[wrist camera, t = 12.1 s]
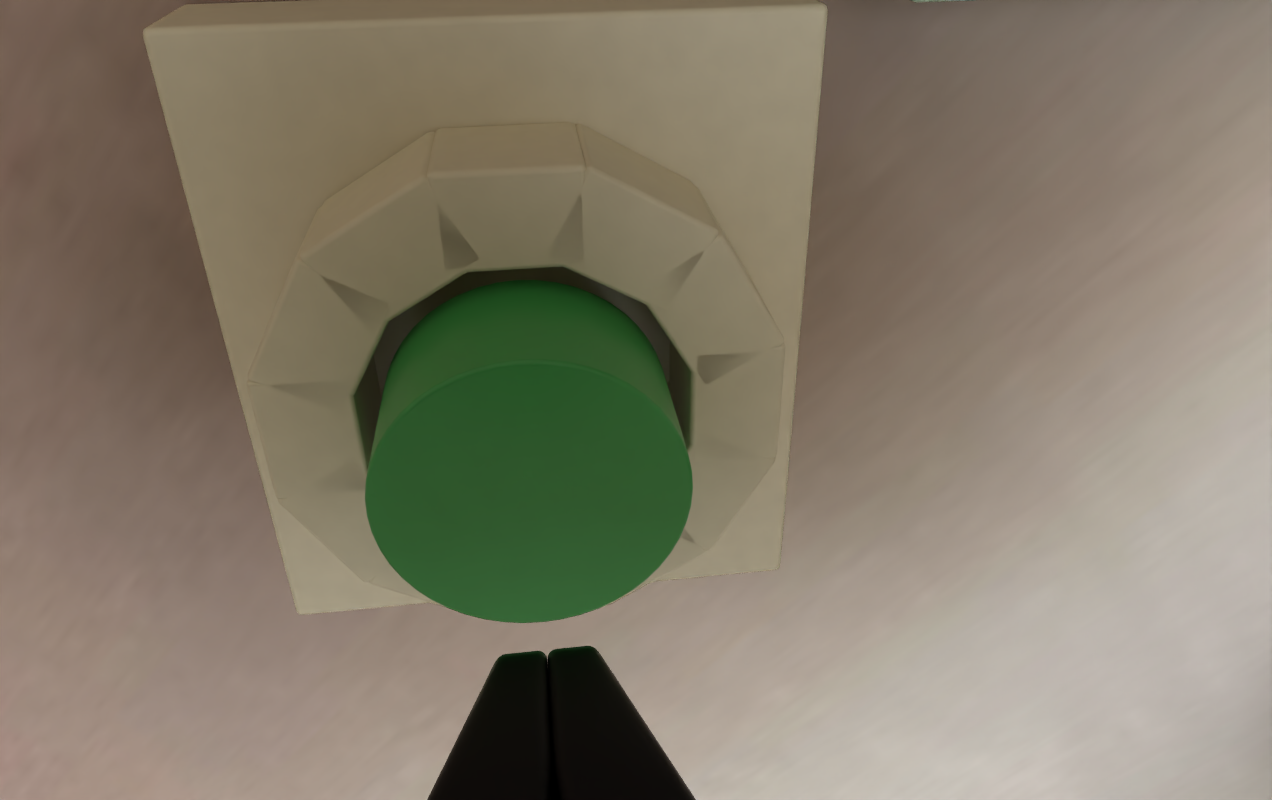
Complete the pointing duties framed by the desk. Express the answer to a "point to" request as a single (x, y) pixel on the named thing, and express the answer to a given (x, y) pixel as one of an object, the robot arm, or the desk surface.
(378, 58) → the switch block
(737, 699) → the desk surface
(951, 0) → the charging dock
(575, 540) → the button
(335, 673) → the desk surface
